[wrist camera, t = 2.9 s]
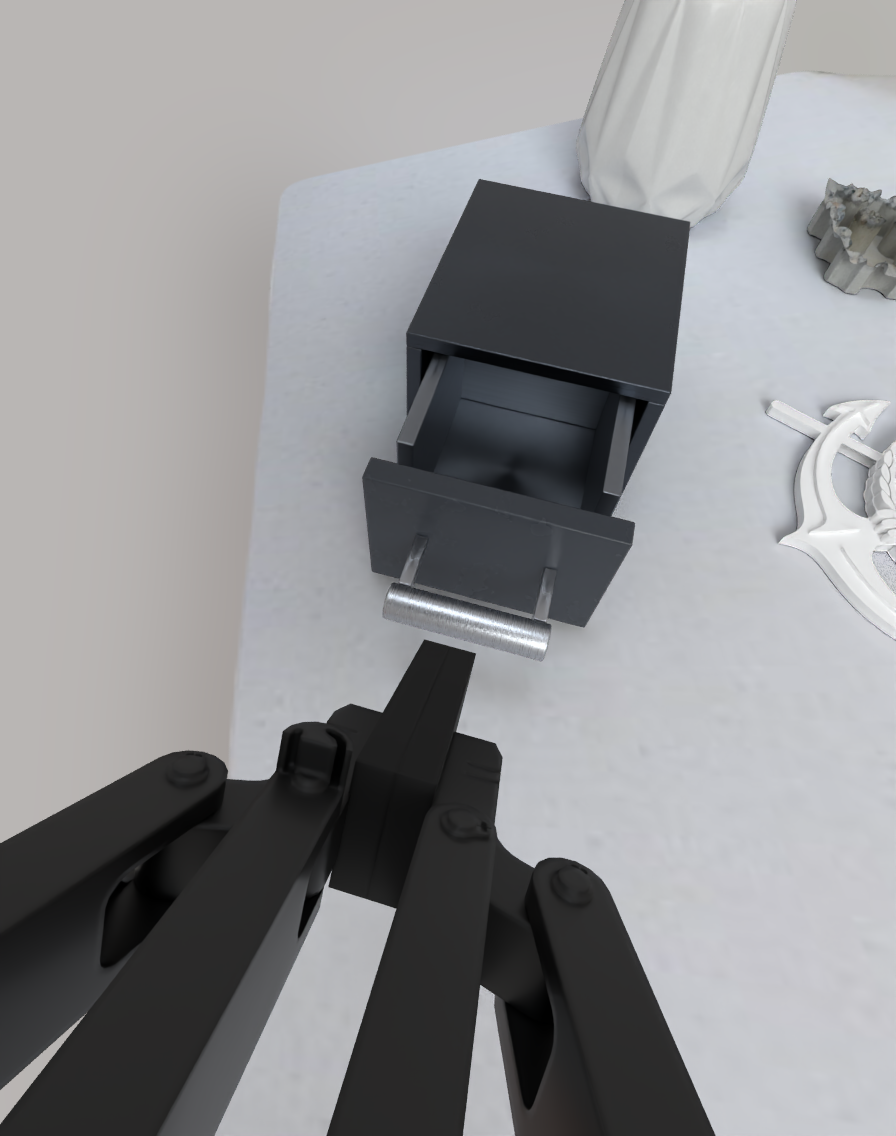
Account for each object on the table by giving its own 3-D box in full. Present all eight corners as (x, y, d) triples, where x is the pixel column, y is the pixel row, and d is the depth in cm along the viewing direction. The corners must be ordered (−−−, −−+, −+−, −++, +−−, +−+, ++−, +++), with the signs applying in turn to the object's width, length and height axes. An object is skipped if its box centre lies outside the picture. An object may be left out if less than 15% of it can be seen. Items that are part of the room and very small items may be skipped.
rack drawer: (571, 707, 29) (619, 640, 22) (342, 644, 30) (324, 561, 23) (616, 438, 38) (661, 333, 31) (440, 397, 39) (446, 286, 32)
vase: (585, 245, 50) (648, 4, 37) (554, 156, 57) (597, -73, 44) (748, 245, 51) (864, 12, 38) (697, 158, 58) (780, -64, 45)
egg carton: (914, 306, 48) (954, 257, 45) (818, 292, 49) (850, 242, 45) (887, 230, 54) (920, 181, 50) (801, 217, 54) (828, 167, 50)
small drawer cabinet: (611, 516, 36) (671, 392, 28) (406, 465, 37) (405, 332, 29) (637, 356, 43) (690, 221, 35) (465, 317, 45) (478, 178, 36)
